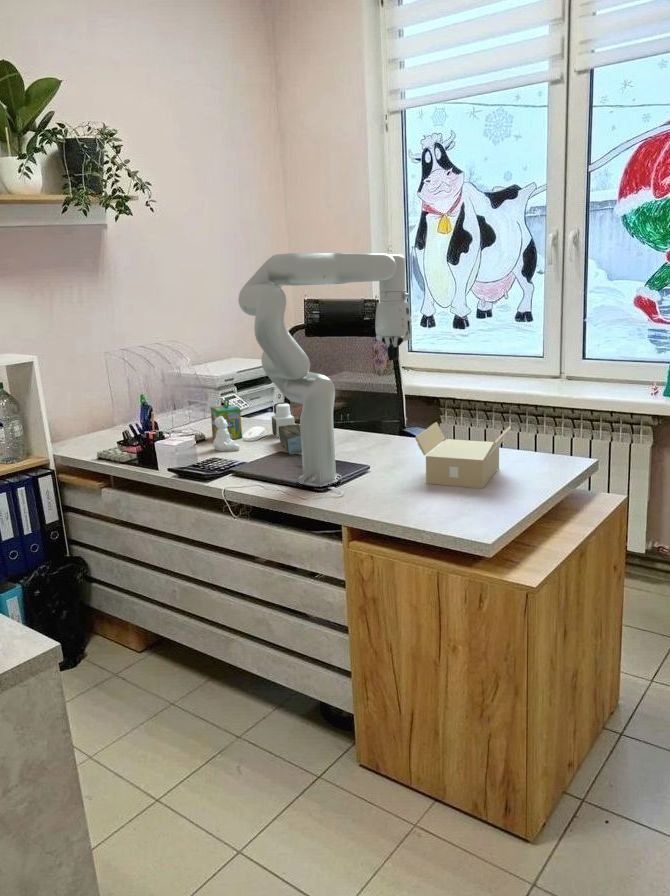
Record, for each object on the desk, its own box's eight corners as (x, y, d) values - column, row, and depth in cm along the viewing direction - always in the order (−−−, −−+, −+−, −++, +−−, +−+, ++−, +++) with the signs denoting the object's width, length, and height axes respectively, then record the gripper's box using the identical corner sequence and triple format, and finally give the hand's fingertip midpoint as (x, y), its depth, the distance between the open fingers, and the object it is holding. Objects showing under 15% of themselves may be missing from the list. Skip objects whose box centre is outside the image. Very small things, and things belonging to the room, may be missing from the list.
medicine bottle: (272, 434, 272) (270, 402, 269) (290, 431, 274) (288, 400, 271) (276, 438, 265) (274, 406, 262) (295, 435, 267) (293, 404, 264)
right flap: (483, 458, 195) (486, 460, 195) (494, 441, 193) (496, 443, 193) (499, 442, 212) (501, 443, 212) (509, 426, 210) (511, 427, 209)
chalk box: (212, 437, 272) (208, 398, 268) (235, 433, 275) (232, 395, 272) (219, 442, 264) (215, 402, 260) (243, 438, 267) (240, 399, 264)
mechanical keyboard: (129, 467, 238) (128, 457, 237) (92, 461, 249) (91, 451, 248) (209, 441, 268) (208, 432, 267) (173, 437, 279) (172, 428, 278)
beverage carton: (287, 455, 241) (286, 436, 240) (278, 442, 260) (277, 424, 258) (311, 453, 243) (309, 434, 241) (300, 440, 261) (299, 422, 260)
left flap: (445, 438, 219) (443, 439, 219) (436, 421, 219) (434, 422, 219) (425, 454, 202) (423, 455, 203) (416, 436, 202) (414, 437, 202)
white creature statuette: (241, 450, 250) (238, 416, 247) (216, 454, 247) (213, 419, 244) (234, 444, 258) (231, 412, 255) (210, 448, 255) (207, 414, 252)
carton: (482, 488, 197) (482, 460, 195) (426, 483, 204) (425, 456, 202) (499, 468, 215) (499, 442, 213) (446, 464, 221) (446, 439, 219)
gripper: (420, 296, 213) (421, 359, 217) (374, 297, 220) (376, 357, 224) (411, 298, 206) (411, 362, 211) (363, 298, 213) (365, 360, 218)
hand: (393, 359), depth 217 cm, fingers closed
